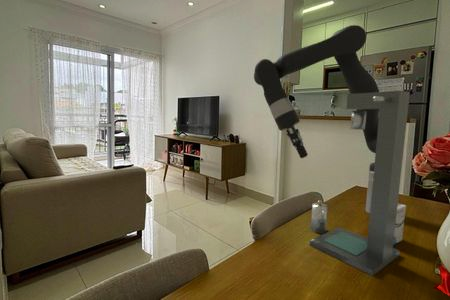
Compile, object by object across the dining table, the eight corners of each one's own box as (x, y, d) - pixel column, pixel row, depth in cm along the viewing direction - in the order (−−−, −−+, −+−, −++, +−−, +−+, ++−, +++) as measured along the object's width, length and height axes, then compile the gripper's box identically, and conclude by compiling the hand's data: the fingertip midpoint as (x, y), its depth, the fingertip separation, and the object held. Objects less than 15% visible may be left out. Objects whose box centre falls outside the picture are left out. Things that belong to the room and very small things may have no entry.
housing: (316, 225, 89) (318, 197, 87) (328, 230, 85) (330, 201, 83) (307, 229, 86) (309, 200, 84) (320, 234, 82) (322, 204, 80)
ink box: (390, 247, 74) (395, 200, 72) (372, 240, 78) (377, 196, 76) (402, 240, 79) (407, 195, 77) (385, 233, 83) (390, 191, 81)
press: (338, 231, 84) (348, 97, 78) (398, 255, 70) (417, 93, 64) (306, 246, 74) (315, 94, 68) (369, 278, 60) (387, 88, 54)
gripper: (292, 105, 77) (315, 152, 75) (295, 111, 91) (315, 151, 89) (270, 116, 80) (292, 162, 78) (277, 121, 93) (295, 160, 91)
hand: (304, 156), depth 83 cm, fingers open, 8 cm apart
